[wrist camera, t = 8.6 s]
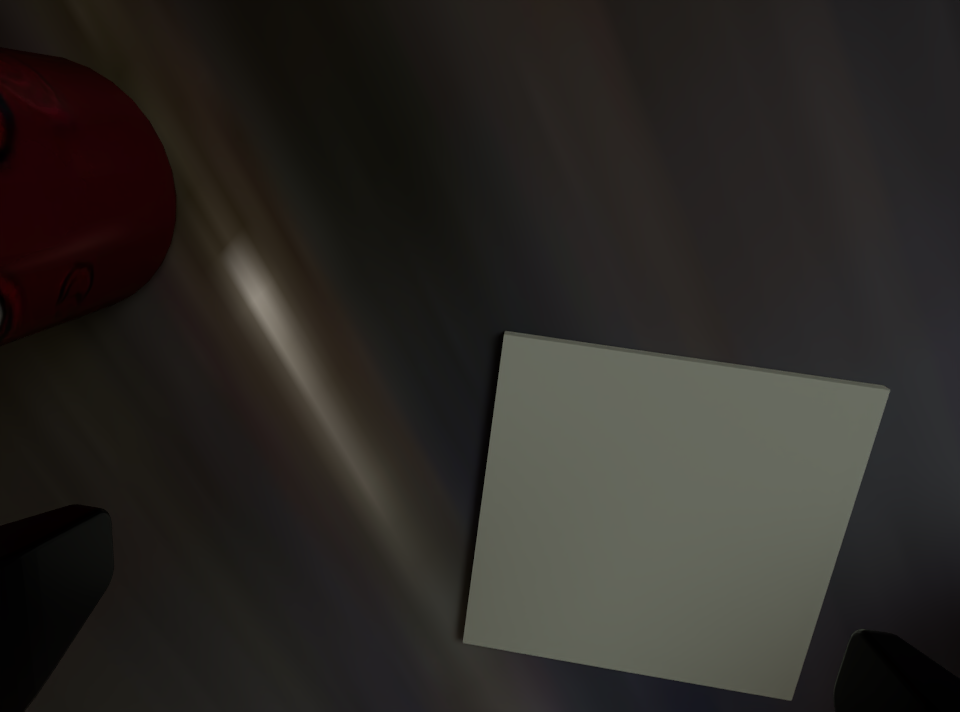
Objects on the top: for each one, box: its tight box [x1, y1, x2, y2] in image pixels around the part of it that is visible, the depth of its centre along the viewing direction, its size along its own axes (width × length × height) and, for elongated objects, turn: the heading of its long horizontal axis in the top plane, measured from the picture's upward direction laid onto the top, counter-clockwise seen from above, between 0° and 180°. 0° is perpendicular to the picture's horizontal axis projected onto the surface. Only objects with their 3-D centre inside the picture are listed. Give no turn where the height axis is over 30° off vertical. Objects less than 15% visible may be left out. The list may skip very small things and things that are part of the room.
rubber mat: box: [463, 331, 890, 701], centre depth 22 cm, size 11×11×1 cm
